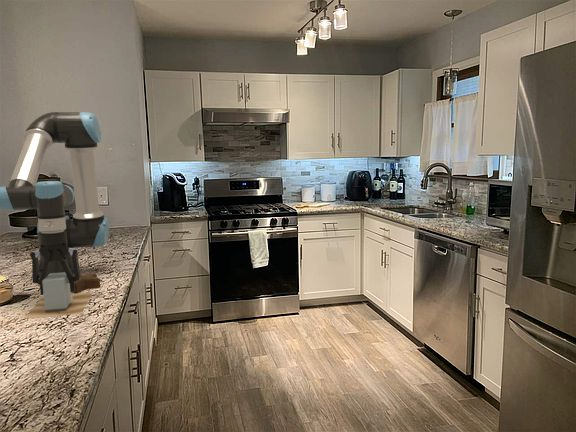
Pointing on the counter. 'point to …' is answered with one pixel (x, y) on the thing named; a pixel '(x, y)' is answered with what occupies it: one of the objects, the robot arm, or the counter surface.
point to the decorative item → (87, 282)
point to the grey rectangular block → (56, 292)
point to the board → (75, 308)
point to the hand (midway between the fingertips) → (59, 302)
